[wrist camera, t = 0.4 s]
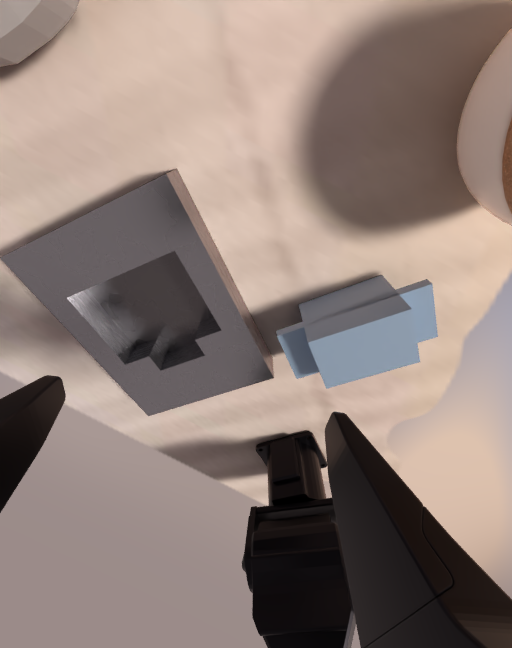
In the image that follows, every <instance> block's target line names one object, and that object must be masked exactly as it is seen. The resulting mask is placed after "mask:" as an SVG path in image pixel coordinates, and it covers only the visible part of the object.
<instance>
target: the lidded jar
mask: <svg viewBox="0 0 512 648" xmlns="http://www.w3.org/2000/svg"><path fill="white" fill-rule="evenodd" d="M457 161H458V165H459V169H460V173H461V176H462V178H463V180H464V182H465V184H466V187H467V189H468V191H469V192H470V193H471V195H472V196H473V197H474V199H475V200H476V201H477V202H478V203H479V204H480V205H481V206H482V207H484V208H485V209H486V210H487V211H488V212H490V213H491V214H492V215H494V216H495V217H497V218H498V219H500V220H501V221H503V222H505V223H507V224H509V225H511V226H512V28H511V29H510V30H509V31H508V33H507V34H506V35H505V36H504V37H503V39H502V40H501V41H500V43H499V44H498V45H497V47H496V48H495V49H494V51H493V52H492V53H491V54H490V56H489V58H488V59H487V61H486V63H485V64H484V66H483V67H482V69H481V71H480V72H479V74H478V76H477V78H476V80H475V82H474V84H473V86H472V88H471V90H470V92H469V95H468V97H467V100H466V103H465V106H464V108H463V111H462V115H461V120H460V124H459V128H458V137H457Z"/></svg>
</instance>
